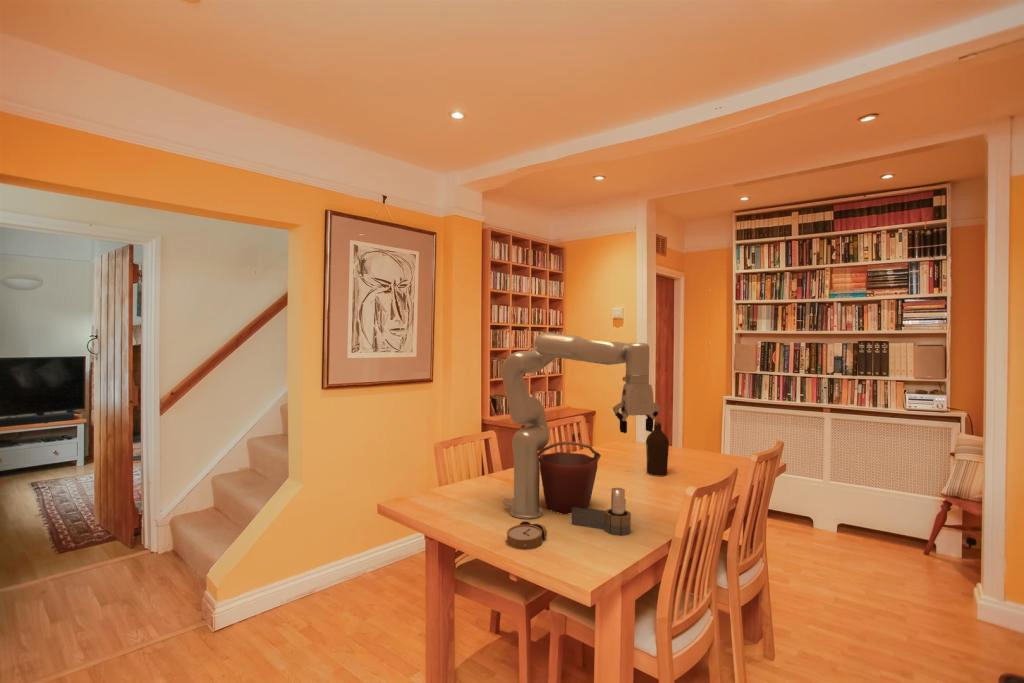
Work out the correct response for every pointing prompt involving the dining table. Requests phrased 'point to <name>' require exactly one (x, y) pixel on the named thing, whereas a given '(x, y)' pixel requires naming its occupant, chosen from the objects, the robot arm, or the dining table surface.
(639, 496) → the dining table surface
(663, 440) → the olive oil
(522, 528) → the alarm clock
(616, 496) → the hinge pin
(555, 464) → the bucket
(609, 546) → the dining table surface
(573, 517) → the hinge
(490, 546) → the dining table surface
